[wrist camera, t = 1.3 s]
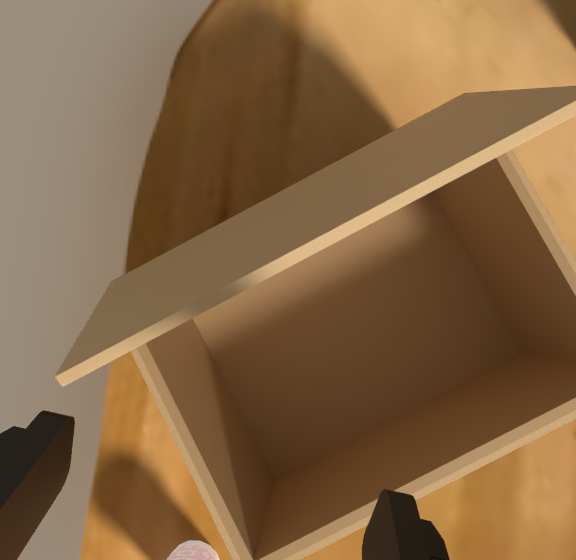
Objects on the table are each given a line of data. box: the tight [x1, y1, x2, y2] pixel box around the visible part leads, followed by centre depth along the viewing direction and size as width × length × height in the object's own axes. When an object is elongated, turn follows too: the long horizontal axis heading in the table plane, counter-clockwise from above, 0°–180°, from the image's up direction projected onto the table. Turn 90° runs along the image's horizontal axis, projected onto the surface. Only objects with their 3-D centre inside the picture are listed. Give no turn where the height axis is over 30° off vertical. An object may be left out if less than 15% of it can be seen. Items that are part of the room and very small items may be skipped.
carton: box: [131, 149, 576, 560], centre depth 35 cm, size 25×18×14 cm
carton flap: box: [55, 86, 576, 387], centre depth 23 cm, size 23×11×1 cm
